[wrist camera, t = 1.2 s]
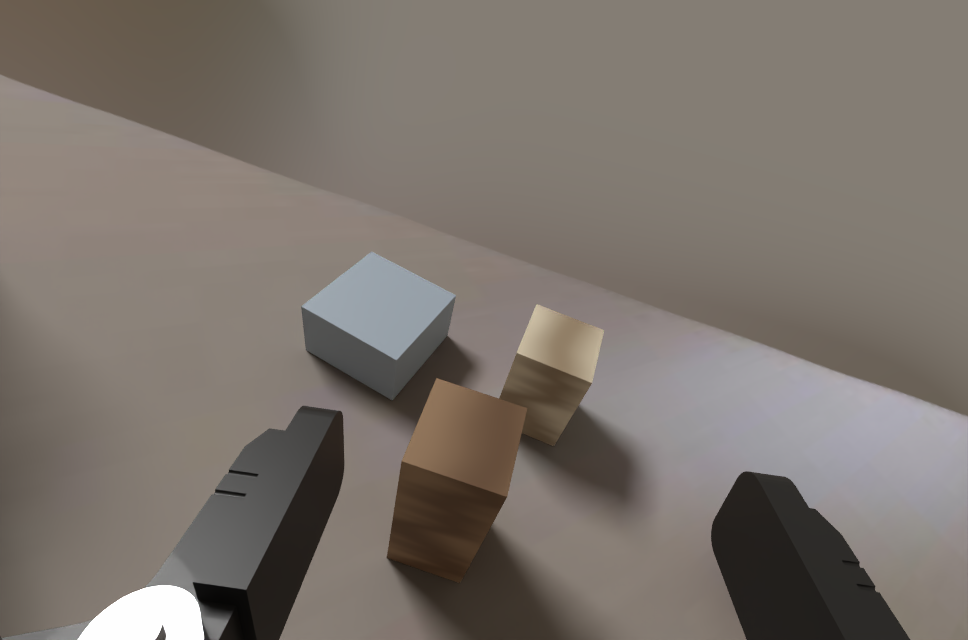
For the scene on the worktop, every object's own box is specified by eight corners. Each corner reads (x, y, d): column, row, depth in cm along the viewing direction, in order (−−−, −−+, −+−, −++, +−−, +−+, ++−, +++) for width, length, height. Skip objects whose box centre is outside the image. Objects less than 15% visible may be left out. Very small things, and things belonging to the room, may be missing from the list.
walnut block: (386, 558, 28) (401, 461, 19) (413, 487, 31) (436, 378, 23) (459, 583, 28) (507, 496, 19) (479, 510, 31) (527, 408, 22)
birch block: (490, 420, 36) (516, 352, 30) (510, 372, 39) (536, 304, 34) (553, 446, 35) (592, 383, 30) (567, 395, 39) (604, 330, 33)
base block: (306, 351, 37) (301, 306, 34) (369, 295, 42) (371, 251, 39) (392, 402, 35) (396, 360, 32) (446, 337, 41) (456, 295, 37)
